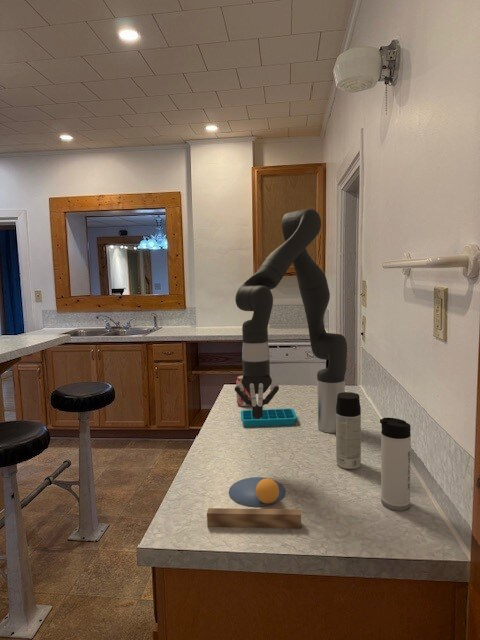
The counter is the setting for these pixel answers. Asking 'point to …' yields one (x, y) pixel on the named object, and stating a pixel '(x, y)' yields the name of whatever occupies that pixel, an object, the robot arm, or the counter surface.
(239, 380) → the soda can
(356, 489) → the counter surface
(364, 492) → the counter surface
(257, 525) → the wall
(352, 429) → the spray can
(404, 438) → the travel mug
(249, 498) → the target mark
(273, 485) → the ball
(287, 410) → the ice cube tray
